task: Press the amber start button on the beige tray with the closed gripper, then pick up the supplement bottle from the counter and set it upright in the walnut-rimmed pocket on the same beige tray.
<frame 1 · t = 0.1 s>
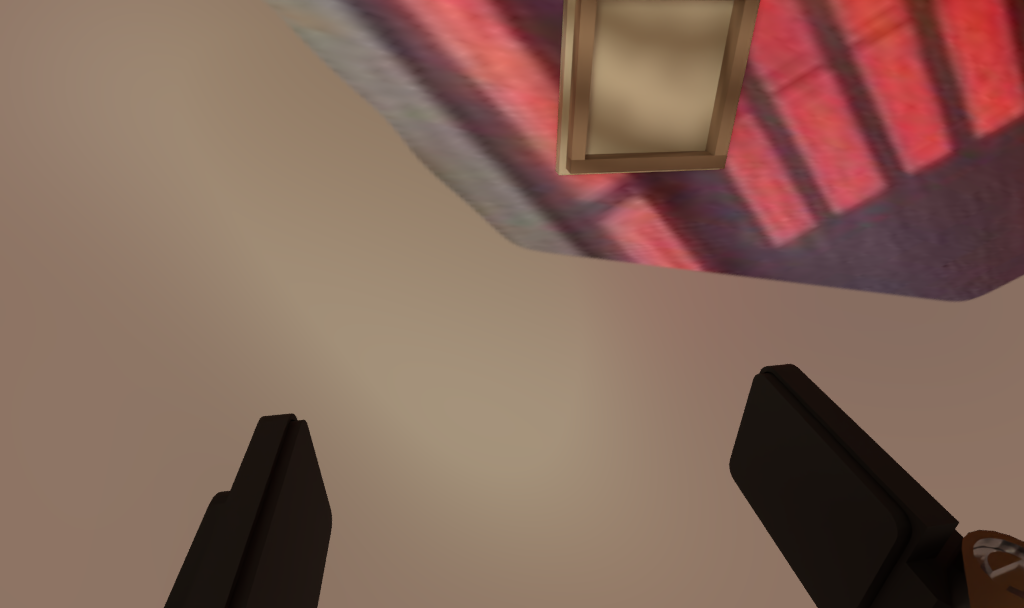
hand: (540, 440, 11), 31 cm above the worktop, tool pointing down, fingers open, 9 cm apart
beige tray: (653, 25, 36), on the worktop
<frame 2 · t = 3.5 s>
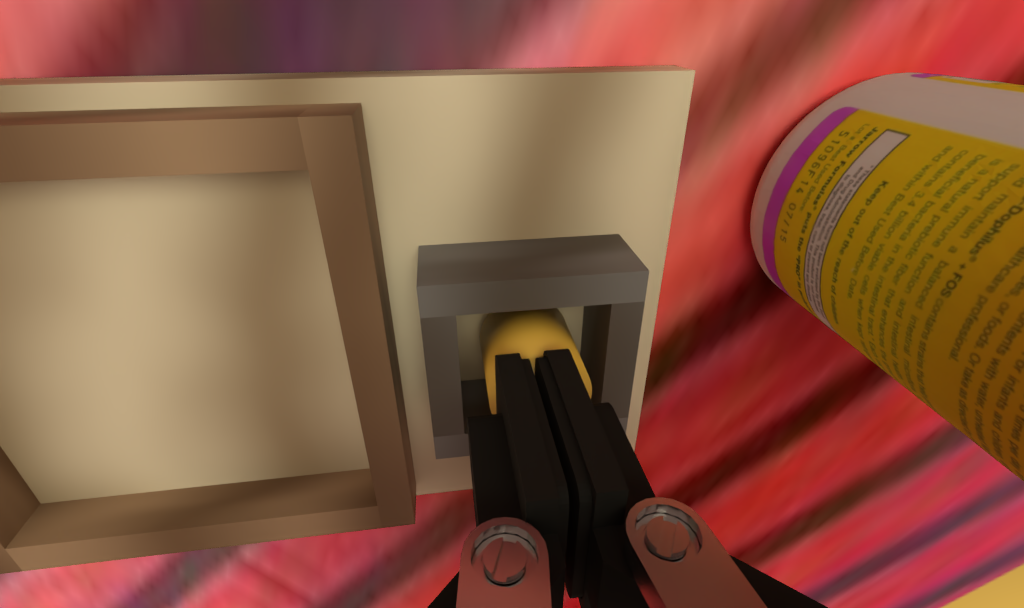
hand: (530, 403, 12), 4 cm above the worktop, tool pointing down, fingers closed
beige tray: (309, 318, 15), on the worktop
supplement bottle: (844, 189, 15), on the worktop
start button: (531, 363, 13), point 3 cm above the worktop, slide at 0.3 cm, touching gripper
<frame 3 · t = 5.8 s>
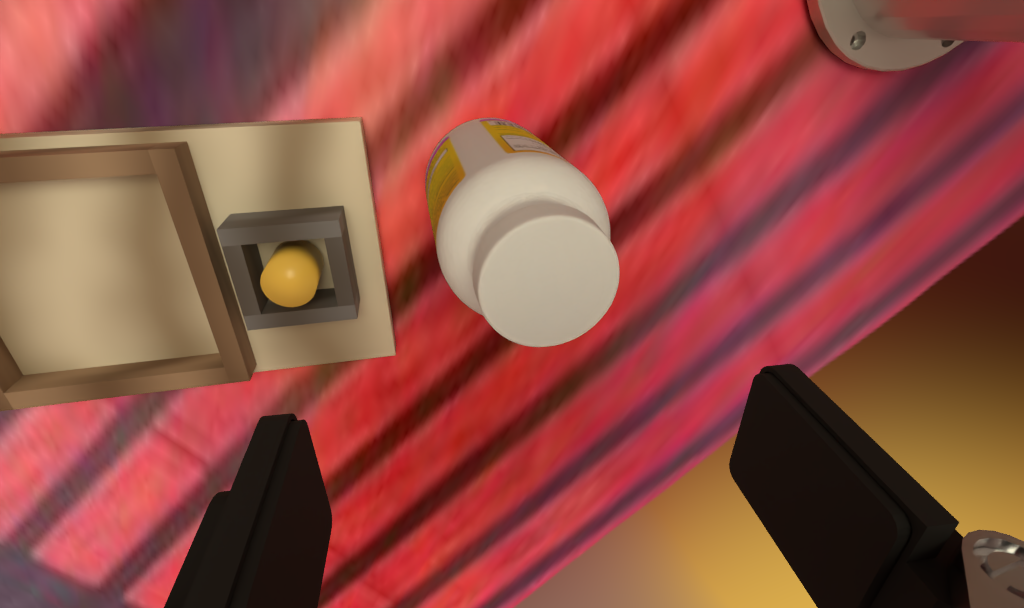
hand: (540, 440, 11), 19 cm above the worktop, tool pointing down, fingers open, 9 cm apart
beige tray: (180, 260, 26), on the worktop
supplement bottle: (487, 179, 27), on the worktop
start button: (293, 272, 25), point 3 cm above the worktop, slide at 0.5 cm
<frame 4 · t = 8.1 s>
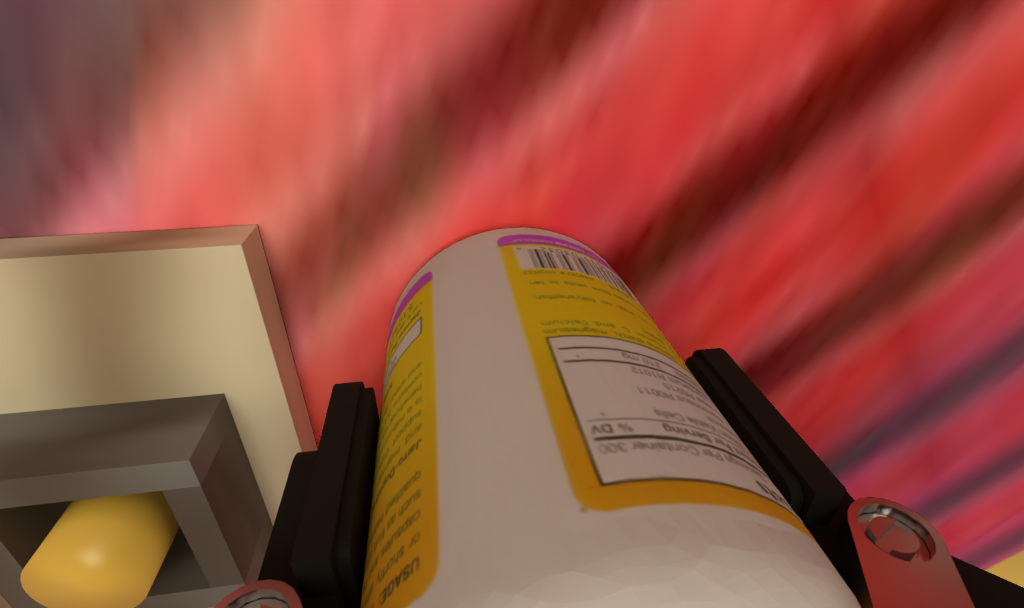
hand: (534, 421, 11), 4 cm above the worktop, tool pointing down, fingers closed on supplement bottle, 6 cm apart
supplement bottle: (510, 325, 15), on the worktop, touching gripper
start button: (117, 532, 12), point 3 cm above the worktop, slide at 0.5 cm
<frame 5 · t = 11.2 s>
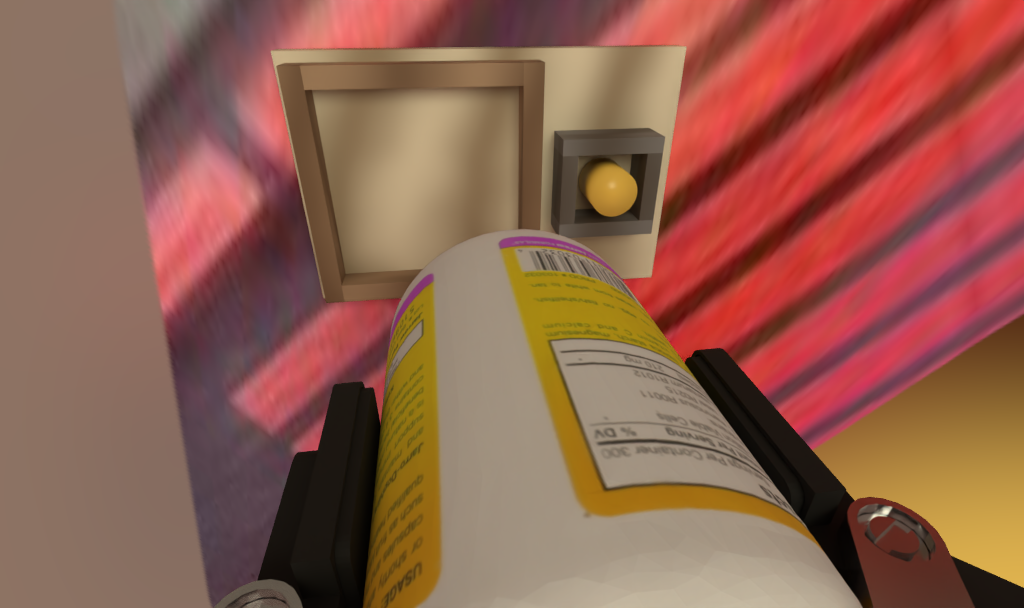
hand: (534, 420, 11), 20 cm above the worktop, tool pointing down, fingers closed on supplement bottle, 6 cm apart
beige tray: (489, 175, 29), on the worktop
supplement bottle: (511, 327, 15), point 16 cm above the worktop, touching gripper
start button: (607, 186, 27), point 3 cm above the worktop, slide at 0.5 cm
when the fingers open (6 cm above the worktop, at t = 14.6 s): supplement bottle stays where it is, resting on beige tray.
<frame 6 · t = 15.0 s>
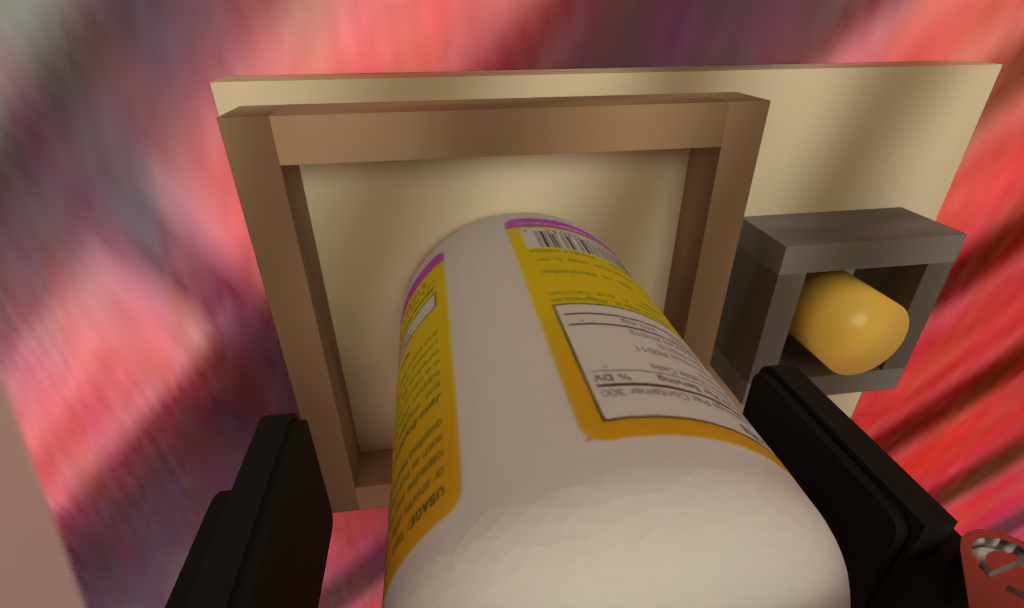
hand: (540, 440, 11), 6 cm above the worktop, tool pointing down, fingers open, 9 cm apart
beige tray: (607, 285, 17), on the worktop
supplement bottle: (515, 307, 15), point 1 cm above the worktop, touching beige tray
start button: (833, 315, 15), point 3 cm above the worktop, slide at 0.5 cm
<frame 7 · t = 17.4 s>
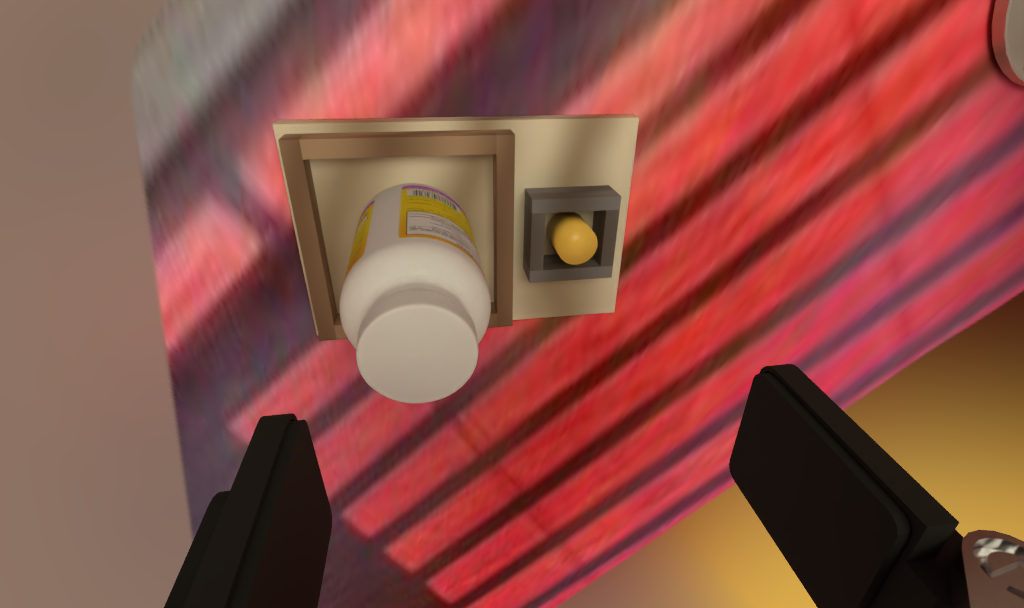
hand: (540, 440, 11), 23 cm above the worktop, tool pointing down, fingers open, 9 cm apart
beige tray: (467, 225, 32), on the worktop
supplement bottle: (415, 233, 31), point 1 cm above the worktop, touching beige tray
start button: (571, 237, 31), point 3 cm above the worktop, slide at 0.5 cm
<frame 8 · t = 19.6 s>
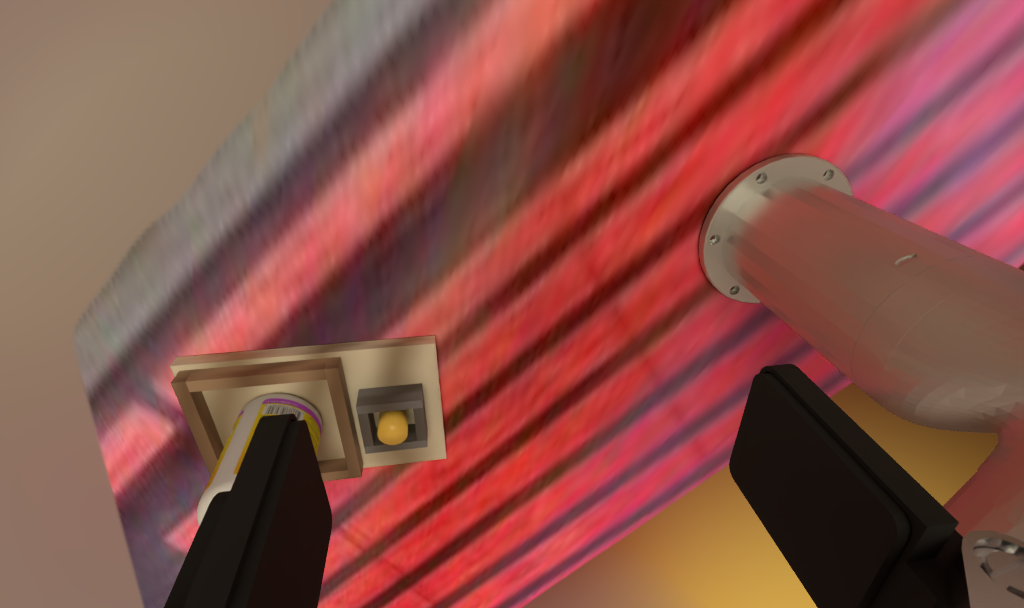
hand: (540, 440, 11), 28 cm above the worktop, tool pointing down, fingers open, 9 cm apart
beige tray: (324, 407, 44), on the worktop
supplement bottle: (283, 419, 43), point 1 cm above the worktop, touching beige tray
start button: (393, 423, 43), point 3 cm above the worktop, slide at 0.5 cm
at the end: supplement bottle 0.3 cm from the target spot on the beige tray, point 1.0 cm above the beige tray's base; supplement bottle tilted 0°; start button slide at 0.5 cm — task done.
